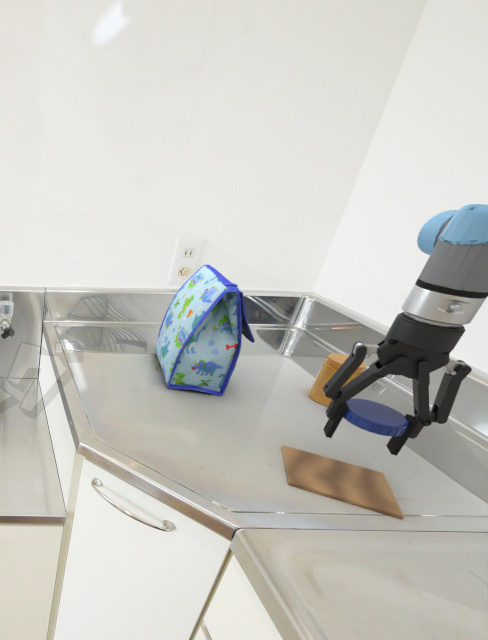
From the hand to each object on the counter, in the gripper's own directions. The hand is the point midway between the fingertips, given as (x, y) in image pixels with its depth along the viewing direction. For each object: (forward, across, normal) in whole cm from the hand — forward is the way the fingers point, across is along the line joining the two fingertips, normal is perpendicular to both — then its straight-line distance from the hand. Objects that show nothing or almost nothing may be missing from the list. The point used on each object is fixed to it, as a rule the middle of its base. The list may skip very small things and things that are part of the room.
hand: (358, 441), depth 73 cm
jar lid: (-6, 0, 0) cm, 6 cm away
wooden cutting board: (+8, 0, -1) cm, 8 cm away
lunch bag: (+8, -27, +29) cm, 41 cm away
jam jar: (+8, +4, +33) cm, 34 cm away
